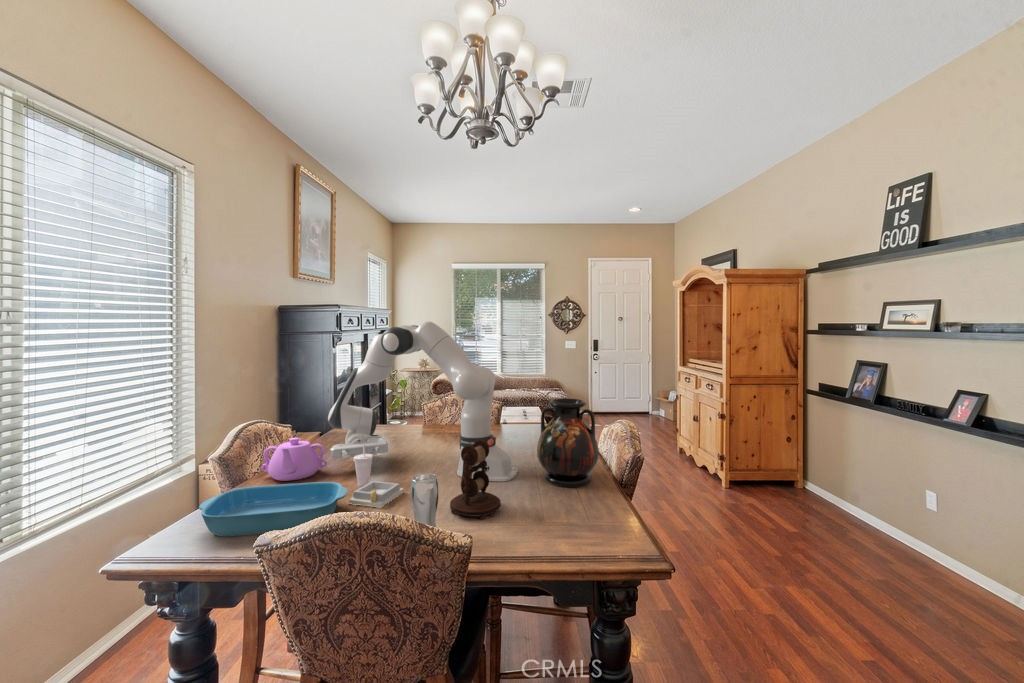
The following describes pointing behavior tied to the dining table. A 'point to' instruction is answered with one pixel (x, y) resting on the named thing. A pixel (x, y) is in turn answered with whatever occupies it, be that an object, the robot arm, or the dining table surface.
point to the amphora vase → (567, 444)
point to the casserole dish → (269, 507)
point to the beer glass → (425, 498)
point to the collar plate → (376, 494)
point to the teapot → (293, 460)
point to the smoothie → (363, 467)
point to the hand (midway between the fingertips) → (361, 454)
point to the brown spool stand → (475, 484)
